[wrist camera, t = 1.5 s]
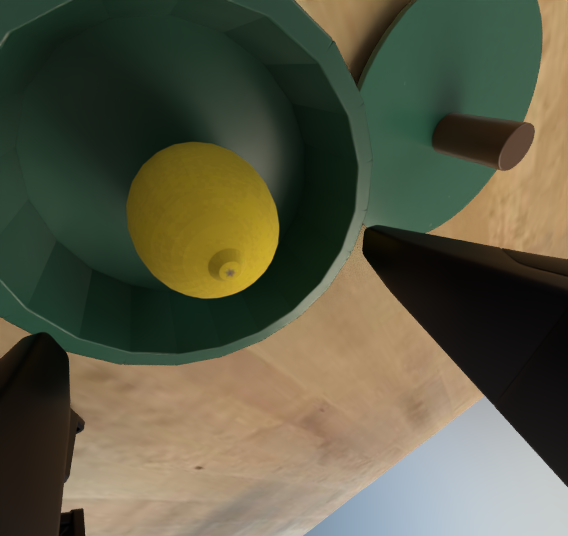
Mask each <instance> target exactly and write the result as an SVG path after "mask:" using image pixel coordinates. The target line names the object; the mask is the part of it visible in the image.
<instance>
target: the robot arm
mask: <svg viewBox="0 0 568 536" xmlns="http://www.w3.org/2000/svg"><path fill="white" fill-rule="evenodd" d="M362 251H363V255H364V257H365V258H366V259H367V261H368V262H369V264H370V265H371V266H372V268H373V269H374V270H375V272H376V273H377V274H378V276H379V277H380V279H381V280H382V281H383V283H384V284H385V285H386V287H387V288H388V289H389V290H390V292H391V293H392V294H393V295H394V296H395V297H396V298H397V299H398V301H399V302H400V303H401V304H402V305H403V306H404V307H405V308H406V309H407V310H408V312H409V313H410V314H411V315H412V316H413V317H414V318H415V319H416V320H417V321H418V323H419V324H420V325H421V326H422V327H423V328H424V329H425V330H426V331H427V332H428V334H429V335H430V336H431V337H432V338H433V339H434V340H435V341H436V342H437V344H438V345H439V346H440V347H441V348H442V349H443V350H444V351H445V352H446V353H447V355H448V356H449V357H450V358H451V359H452V360H453V361H454V362H455V363H456V364H457V366H458V367H459V368H460V369H461V370H462V371H463V372H464V373H465V374H466V375H467V377H468V378H469V379H470V380H471V381H472V382H473V383H474V384H475V385H476V386H477V388H478V389H479V390H480V391H481V392H482V393H483V394H484V395H485V396H486V397H487V399H488V400H489V401H490V402H491V403H492V404H493V405H494V406H495V407H496V409H497V410H498V411H499V412H500V413H501V414H502V415H503V416H504V417H505V419H506V420H507V421H508V422H509V423H510V424H511V425H512V426H513V427H514V428H515V430H516V431H517V432H518V433H519V434H520V435H521V436H522V437H523V438H524V439H525V441H527V443H528V444H529V445H530V446H531V447H532V448H533V449H534V451H535V452H536V453H537V454H538V455H539V456H540V457H541V458H542V459H543V460H544V462H545V463H546V464H547V465H548V466H549V467H550V468H551V469H552V470H553V471H554V473H555V474H556V475H557V476H558V477H559V478H560V479H561V480H562V481H563V482H564V484H565V485H566V486H567V487H568V259H562V258H556V257H550V256H543V255H537V254H532V253H526V252H520V251H515V250H510V249H504V248H502V249H501V248H499V247H494V246H488V245H483V244H478V243H473V242H467V241H462V240H457V239H451V238H446V237H441V236H436V235H430V234H425V233H420V232H414V231H409V230H404V229H399V228H393V227H388V226H383V225H374V226H371V227H368V228H366V229H365V231H364V238H363V247H362ZM84 424H85V422H84V421H83V420H82V419H81V418H80V417H79V416H78V415H77V414H76V413H75V412H74V411H73V410H72V409H71V408H70V380H69V359H68V355H67V353H66V352H65V350H64V349H63V348H62V347H61V346H60V345H59V344H58V343H57V342H56V341H55V339H54V338H53V337H52V336H51V335H50V334H49V333H47V332H39V333H36V334H33V335H30V336H27V337H24V338H22V339H21V340H20V341H19V342H18V343H17V344H16V345H15V346H14V347H13V348H12V349H10V350H9V351H8V352H7V353H6V354H5V355H4V356H3V357H2V358H1V359H0V536H85V525H84V511H83V509H74V510H71V511H70V512H65V513H61V506H62V497H63V487H64V483H65V482H66V481H67V479H68V478H69V475H70V469H71V462H72V456H73V450H74V443H75V437H76V434H77V433H79V432H81V431H83V430H84Z"/></svg>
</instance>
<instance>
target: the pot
mask: <svg viewBox="0 0 568 536" xmlns="http://www.w3.org/2000/svg"><path fill="white" fill-rule="evenodd" d="M363 102H364V101H363V98H362V96H361V94H360V92H359V90H358V88H357V86H356V84H355V82H354V80H353V78H352V76H351V74H350V72H349V70H348V68H347V66H346V64H345V62H344V60H343V58H342V56H341V54H340V51H339V49H338V47H337V45H336V43H335V42H334V41H332V38H331V37H330V36H329V35H328V34H327V33H326V32H325V31H324V30H323V29H322V28H321V27H320V26H319V25H318V24H317V23H316V22H315V21H314V20H313V19H312V18H311V17H310V16H309V15H308V14H307V13H306V12H305V11H304V10H303V9H302V8H301V7H300V6H299V5H298V4H297V3H296V2H295V1H294V0H0V317H1V318H3V319H4V320H6V321H8V322H10V323H12V324H14V325H16V326H18V327H20V328H21V329H23V330H25V331H27V332H29V333H31V334H36V333H39V332H47V333H49V334H50V335H51V336H52V337H53V338H54V339H55V341H56V342H57V343H58V344H59V345H60V346H61V347H62V348H63V349H64V350H65V351H66V352H70V353H74V354H79V355H83V356H87V357H91V358H95V359H100V360H104V361H108V362H112V363H116V364H120V365H122V364H124V365H182V364H187V363H192V362H197V361H203V360H208V359H213V358H219V357H222V356H225V355H228V354H230V353H233V352H235V351H238V350H240V349H243V348H245V347H248V346H250V345H253V344H255V343H257V342H260V341H262V340H263V339H266V338H267V337H269V336H270V335H272V334H273V333H275V332H276V331H278V330H280V329H281V328H283V327H284V326H286V325H287V324H289V323H290V322H292V321H293V320H295V319H296V318H298V317H299V316H301V315H302V314H303V313H304V312H305V311H306V310H307V309H308V308H309V307H310V306H311V305H312V304H313V303H314V302H315V301H316V300H317V299H318V298H319V297H320V296H321V295H322V294H323V293H324V292H325V291H326V290H327V289H328V287H329V286H330V285H331V283H332V282H333V280H334V279H335V277H336V276H337V274H338V273H339V271H340V270H341V268H342V266H343V265H344V263H345V262H346V260H347V259H348V257H349V256H350V254H351V252H352V251H353V248H354V245H355V243H356V240H357V237H358V235H359V232H360V229H361V227H362V224H363V221H364V219H365V216H366V213H367V209H368V203H369V194H370V185H371V176H372V167H373V160H372V159H373V154H372V148H371V141H370V135H369V129H368V123H367V117H366V110H365V104H364V103H363ZM186 142H202V143H212V144H215V145H217V146H220V147H223V148H225V149H228V150H231V151H233V152H234V153H235V154H237V155H238V156H240V157H241V158H242V159H244V160H245V161H246V162H248V163H249V164H250V165H251V166H252V167H253V168H254V169H255V171H256V172H257V173H258V174H259V175H260V177H261V178H262V179H263V180H264V182H265V183H266V185H267V187H268V189H269V192H270V194H271V196H272V198H273V200H274V203H275V206H276V209H277V215H278V222H279V237H278V245H277V248H276V251H275V254H274V256H273V259H272V261H271V263H270V264H269V266H268V268H267V269H266V271H265V272H264V273H263V274H262V275H261V276H260V277H259V278H258V279H257V280H256V281H255V282H254V283H253V284H251V285H250V286H248V287H247V288H245V289H244V290H242V291H239V292H237V293H235V294H232V295H228V296H224V297H219V298H198V297H192V296H188V295H185V294H182V293H180V292H178V291H175V290H173V289H171V288H169V287H168V286H167V285H165V284H164V283H163V282H161V281H160V280H159V279H157V278H156V277H155V276H154V275H153V274H152V273H151V272H150V270H149V269H148V268H147V266H146V265H145V264H144V262H143V261H142V260H141V258H140V257H139V255H138V254H137V252H136V249H135V247H134V244H133V241H132V239H131V236H130V233H129V230H128V224H127V208H126V204H127V199H128V195H129V191H130V187H131V184H132V181H133V180H134V178H135V176H136V175H137V173H138V172H139V170H140V168H141V167H142V165H143V164H144V163H146V162H147V161H148V160H149V159H150V158H151V157H152V156H153V155H155V154H156V153H157V152H159V151H161V150H163V149H165V148H167V147H169V146H172V145H174V144H180V143H186Z"/></svg>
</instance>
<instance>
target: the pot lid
mask: <svg viewBox="0 0 568 536" xmlns="http://www.w3.org/2000/svg"><path fill="white" fill-rule="evenodd" d="M541 53H542V20H541V14H540V9H539V5H538V1H537V0H411V1H410V2H409V3H408V4H407V5H406V6H405V7H404V8H403V10H402V11H401V12H400V13H399V14H398V15H397V17H396V18H395V19H394V21H393V22H392V23H391V24H390V26H389V27H388V28H387V30H386V31H385V32H384V34H383V36H382V37H381V39H380V40H379V42H378V44H377V45H376V47H375V48H374V50H373V52H372V54H371V56H370V58H369V60H368V62H367V64H366V66H365V68H364V70H363V72H362V74H361V76H360V79H359V81H358V84H357V88H358V90H359V92H360V94H361V96H362V98H363V101H364V102H363V103H364V104H365V110H366V117H367V123H368V129H369V135H370V141H371V148H372V154H373V159H372V160H373V167H372V176H371V185H370V194H369V203H368V209H367V213H366V216H365V219H364V221H363V225H364V226H365V227H367V228H368V227H371V226H374V225H383V226H388V227H393V228H399V229H404V230H409V231H414V232H420V233H426V232H429V231H431V230H433V229H435V228H437V227H438V226H440V225H442V224H443V223H445V222H446V221H448V220H449V219H451V218H452V217H453V216H455V215H456V214H457V213H458V212H460V211H461V210H462V209H463V208H464V207H465V206H466V205H467V204H468V203H469V202H470V201H471V200H472V199H473V198H474V197H475V196H476V195H477V194H478V193H479V192H480V191H481V189H482V188H483V187H484V186H485V185H486V183H487V182H488V181H489V180H490V178H491V177H492V176H493V174H494V173H495V172H496V170H497V169H498V170H502V171H506V170H510V169H511V168H513V167H514V166H516V165H517V164H518V163H519V162H520V161H521V160H522V159H523V157H524V156H525V155H526V153H527V151H528V150H529V148H530V146H531V144H532V141H533V138H534V133H535V130H534V126H533V125H532V124H531V123H527V122H523V121H524V119H525V116H526V114H527V111H528V108H529V105H530V103H531V100H532V96H533V93H534V90H535V86H536V82H537V78H538V73H539V68H540V61H541Z"/></svg>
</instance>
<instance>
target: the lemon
mask: <svg viewBox="0 0 568 536" xmlns="http://www.w3.org/2000/svg"><path fill="white" fill-rule="evenodd" d="M126 208H127V224H128V230H129V233H130V236H131V239H132V241H133V244H134V247H135V249H136V252H137V254H138V255H139V257H140V258H141V260H142V261H143V262H144V264H145V265H146V266H147V268H148V269H149V270H150V272H151V273H152V274H153V275H154V276H155V277H156V278H157V279H159V280H160V281H161V282H163V283H164V284H165V285H167V286H168V287H169V288H171V289H173V290H175V291H178V292H180V293H182V294H185V295H188V296H192V297H198V298H219V297H224V296H228V295H232V294H235V293H237V292H239V291H242V290H244V289H245V288H247V287H248V286H250V285H251V284H253V283H254V282H255V281H256V280H257V279H258V278H259V277H260V276H261V275H262V274H263V273H264V272H265V271H266V269H267V268H268V266H269V264H270V263H271V261H272V259H273V256H274V254H275V251H276V248H277V245H278V237H279V222H278V215H277V209H276V206H275V203H274V200H273V198H272V196H271V194H270V192H269V189H268V187H267V185H266V183H265V182H264V180H263V179H262V178H261V177H260V175H259V174H258V173H257V172H256V171H255V169H254V168H253V167H252V166H251V165H250V164H249V163H248V162H246V161H245V160H244V159H242V158H241V157H240V156H238V155H237V154H235V153H234V152H233V151H231V150H228V149H225V148H223V147H220V146H217V145H215V144H212V143H202V142H186V143H180V144H174V145H172V146H169V147H167V148H165V149H163V150H161V151H159V152H157V153H156V154H155V155H153V156H152V157H151V158H150V159H149V160H148V161H147V162H146V163H144V164H143V165H142V167H141V168H140V170H139V172H138V173H137V175H136V176H135V178H134V180H133V181H132V184H131V187H130V191H129V195H128V199H127V204H126Z"/></svg>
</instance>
